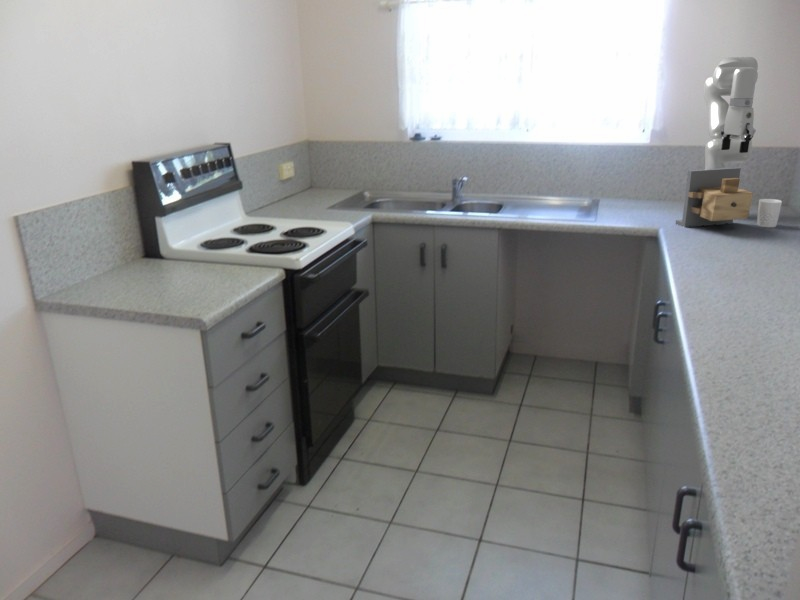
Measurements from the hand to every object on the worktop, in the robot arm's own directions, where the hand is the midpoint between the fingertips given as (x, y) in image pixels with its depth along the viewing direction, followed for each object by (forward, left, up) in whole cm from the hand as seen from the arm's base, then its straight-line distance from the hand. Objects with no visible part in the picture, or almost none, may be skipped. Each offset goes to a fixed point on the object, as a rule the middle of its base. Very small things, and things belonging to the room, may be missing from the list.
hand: (734, 151), depth 246 cm
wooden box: (0, -2, -25) cm, 25 cm away
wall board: (0, -9, -30) cm, 31 cm away
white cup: (-20, 0, -30) cm, 36 cm away
